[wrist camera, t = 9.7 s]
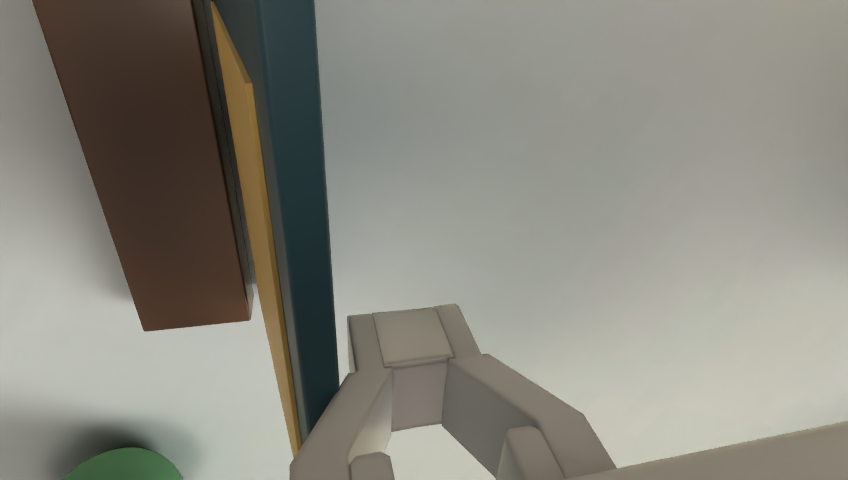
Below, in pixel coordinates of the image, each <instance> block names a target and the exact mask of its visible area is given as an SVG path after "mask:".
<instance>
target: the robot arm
mask: <svg viewBox="0 0 848 480" xmlns="http://www.w3.org/2000/svg"><path fill="white" fill-rule="evenodd" d="M347 333H348V357H349V370H350V373H348V375H347V376H346V378H345V379H344V381H343V382H342V384H341V386H340V389H339V391H338V392H337V393H335V395H334V397H333V398H332V400H331V401H330V403H329V404H328V406H327V408H326V409H325V411H324V412H323V414H322V415H321V417H320V418H319V420H318V422H317V423H316V425H315V426H314V428H313V429H312V431H311V433H310V434H309V436H308V437H307V439H306V440H305V442H304V444H303V445H302V447H301V448H300V450H299V451H298V453H297V454H296V456H295V458H294V459H293V461H292V462H291V464H290V480H395V479H394V474H393V469H392V464H391V459H390V456H388V455H386V454H384V452H385V449H386V447H387V444H388V442H389V439H390V437H391V432H394V431H399V430H404V429H409V428H414V427H420V426H428V425H435V424H442V426H443V427H444V428H445V429H446V430H447V431H448V432H449V433H450V434H451V435H452V436H453V437H454V438H455V439H456V440H457V441H458V442H459V443H460V444H461V445H462V446H464V447H465V448H466V449H467V450H468V451H469V452H470V453H471V454H472V455H473V456H474V457H475V458H476V459H477V460H478V461H479V462H480V463H481V464H482V465H483V466H484V467H485V468H486V469H487V470H488V471H489V472H490V473H491V474H492V475H493V476H494V477H495V478H496V480H848V421H845V422H840V423H835V424H830V425H825V426H820V427H816V428H811V429H806V430H801V431H796V432H791V433H786V434H782V435H777V436H772V437H767V438H762V439H757V440H752V441H748V442H743V443H738V444H733V445H728V446H723V447H719V448H714V449H709V450H704V451H699V452H694V453H689V454H685V455H680V456H675V457H670V458H665V459H660V460H655V461H651V462H646V463H641V464H636V465H631V466H627V467H622V468H616V466H615V464H614V463H613V461H612V460H611V458H610V456H609V455H608V453H607V452H606V450H605V448H604V447H603V445H602V443H601V442H600V440H599V439H598V437H597V435H596V434H595V432H594V431H593V429H592V427H591V426H590V424H589V422H588V421H587V419H586V418H585V416H584V414H582V413H581V412H579V411H577V410H576V409H574V408H573V407H571V406H570V405H568V404H566V403H565V402H563V401H562V400H560V399H559V398H557V397H555V396H554V395H552V394H551V393H549V392H547V391H546V390H544V389H543V388H541V387H540V386H538V385H536V384H535V383H533V382H532V381H530V380H529V379H527V378H525V377H524V376H522V375H521V374H519V373H518V372H516V371H514V370H513V369H511V368H510V367H508V366H507V365H505V364H503V363H502V362H500V361H499V360H497V359H496V358H494V357H492V356H491V355H489V354H481V352H480V350H479V348H478V346H477V344H476V342H475V340H474V337H473V335H472V333H471V331H470V329H469V327H468V325H467V323H466V321H465V318H464V316H463V314H462V312H461V310H460V308H459V306H458V305H457V304H448V305H440V306H434V307H429V308H421V309H412V310H400V311H389V312H378V313H372V314H360V315H350V316H347Z"/></svg>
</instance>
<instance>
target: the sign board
mask: <svg viewBox="0 0 848 480" xmlns="http://www.w3.org/2000/svg"><path fill="white" fill-rule="evenodd" d="M210 4H211V10H212V16H213V22H214V28H215V34H216V40H217V46H218V52H219V58H220V64H221V70H222V76H223V82H224V88H225V94H226V100H227V106H228V112H229V118H230V124H231V130H232V136H233V142H234V148H235V154H236V160H237V167H238V173H239V179H240V185H241V191H242V197H243V203H244V209H245V215H246V221H247V227H248V233H249V239H250V245H251V251H252V257H253V263H254V269H255V275H256V281H257V287H258V293H259V299H260V303H261V308H262V313H263V317H264V322H265V327H266V331H267V336H268V341H269V345H270V350H271V355H272V359H273V364H274V369H275V373H276V378H277V383H278V387H279V392H280V397H281V402H282V406H283V411H284V416H285V420H286V425H287V430H288V434H289V439H290V444H291V448H292V453H293V458H295V456H296V454H297V453H298V451H299V450H300V448H301V447H302V445H303V444H304V442H305V440H306V439H307V437H308V436H309V434H310V433H311V431H312V429H313V428H314V426H315V425H316V423H317V422H318V420H319V418H320V417H321V415H322V414H323V412H324V411H325V409H326V408H327V406H328V404H329V403H330V401H331V400H332V398H333V397H334V395H335V393H337V392H338V391H339V389H340V387H339V372H338V356H337V341H336V326H335V310H334V295H333V280H332V264H331V249H330V234H329V219H328V203H327V188H326V173H325V157H324V142H323V127H322V111H321V96H320V81H319V65H318V50H317V35H316V20H315V4H314V0H211V1H210Z"/></svg>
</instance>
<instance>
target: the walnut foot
mask: <svg viewBox="0 0 848 480" xmlns="http://www.w3.org/2000/svg"><path fill="white" fill-rule="evenodd" d="M32 2H33V5H34V8H35V11H36V14H37V17H38V20H39V23H40V26H41V28H42V31H43V34H44V37H45V40H46V43H47V46H48V49H49V52H50V55H51V58H52V61H53V64H54V67H55V70H56V73H57V76H58V79H59V82H60V85H61V88H62V91H63V94H64V97H65V99H66V102H67V105H68V108H69V111H70V114H71V117H72V120H73V123H74V126H75V129H76V132H77V135H78V138H79V141H80V144H81V147H82V150H83V153H84V156H85V159H86V162H87V165H88V168H89V170H90V173H91V176H92V179H93V182H94V185H95V188H96V191H97V194H98V197H99V200H100V203H101V206H102V209H103V212H104V215H105V218H106V221H107V224H108V227H109V230H110V233H111V236H112V239H113V241H114V244H115V247H116V250H117V253H118V256H119V259H120V262H121V265H122V268H123V271H124V274H125V277H126V280H127V283H128V286H129V289H130V292H131V295H132V298H133V301H134V304H135V307H136V310H137V312H138V315H139V318H140V321H141V324H142V327H143V330H144V331H155V330H164V329H174V328H183V327H193V326H202V325H212V324H221V323H231V322H240V321H249V320H250V319H251V314H252V306H253V297H254V295H253V290H252V284H251V278H250V272H249V267H248V261H247V255H246V249H245V244H244V238H243V232H242V226H241V220H240V215H239V209H238V203H237V197H236V192H235V186H234V180H233V174H232V169H231V163H230V157H229V151H228V146H227V140H226V134H225V128H224V122H223V117H222V111H221V105H220V99H219V94H218V88H217V82H216V76H215V71H214V65H213V59H212V53H211V48H210V42H209V36H208V30H207V25H206V19H205V13H204V7H203V1H202V0H32Z"/></svg>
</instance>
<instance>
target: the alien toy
mask: <svg viewBox="0 0 848 480" xmlns="http://www.w3.org/2000/svg"><path fill="white" fill-rule="evenodd" d="M61 480H183V477H182V476H181V474H180V473H179V472H178V470H177V469H176V467H175V466H174V465H173V463H171V462H170V461H169V460H168V459H166V458H165V457H164V456H162V455H160V454H158V453H156V452H153V451H151V450H148V449H143V448H132V447H129V448H119V449H114V450H110V451H106V452H103V453H101V454H99V455H96V456H94V457H92V458H90V459H88V460H86V461H84V462H83V463H81V464H79V465H78V466H77V467H75V468H74V469H73V470H72V471H70V472H69V473H68V474H67V475H66V476H64V477H63V478H62V479H61Z"/></svg>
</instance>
